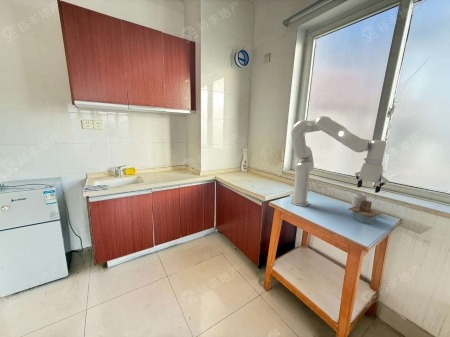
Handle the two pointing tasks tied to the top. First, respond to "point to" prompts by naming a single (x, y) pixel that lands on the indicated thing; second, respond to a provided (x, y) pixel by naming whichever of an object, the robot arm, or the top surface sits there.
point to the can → (358, 199)
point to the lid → (365, 209)
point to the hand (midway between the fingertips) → (367, 189)
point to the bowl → (363, 218)
